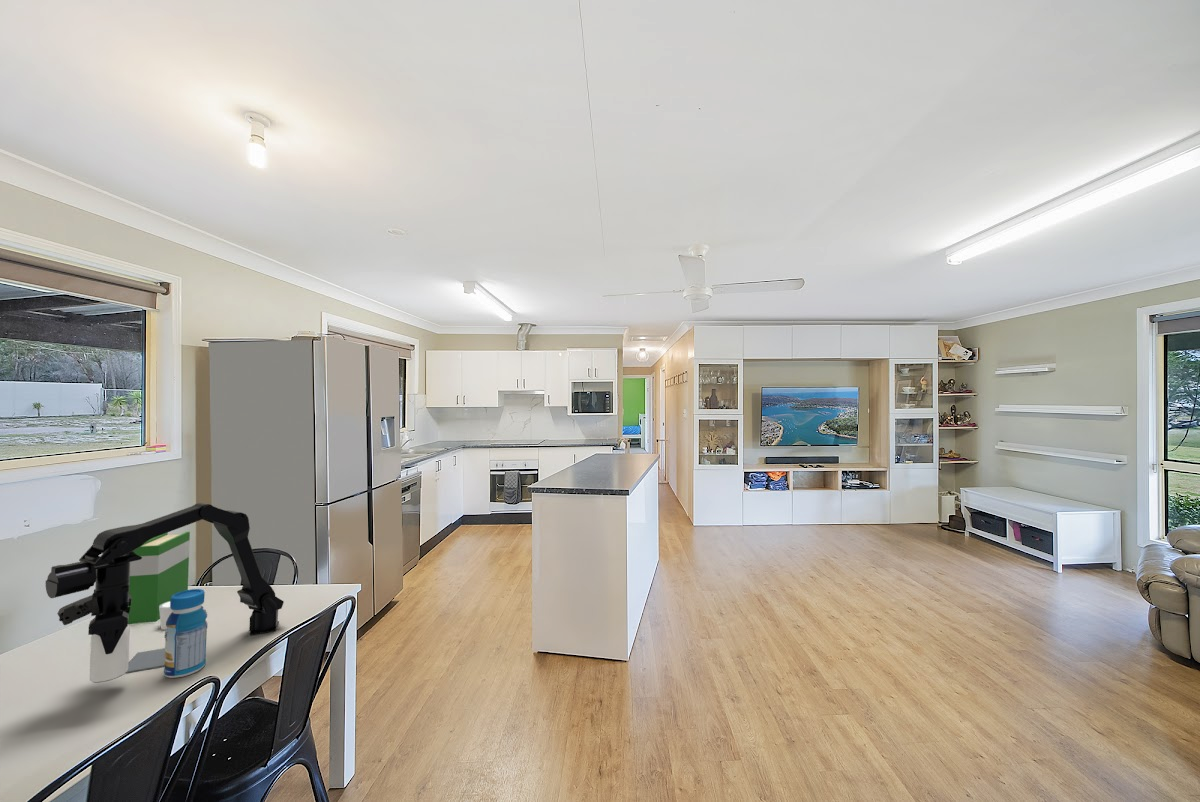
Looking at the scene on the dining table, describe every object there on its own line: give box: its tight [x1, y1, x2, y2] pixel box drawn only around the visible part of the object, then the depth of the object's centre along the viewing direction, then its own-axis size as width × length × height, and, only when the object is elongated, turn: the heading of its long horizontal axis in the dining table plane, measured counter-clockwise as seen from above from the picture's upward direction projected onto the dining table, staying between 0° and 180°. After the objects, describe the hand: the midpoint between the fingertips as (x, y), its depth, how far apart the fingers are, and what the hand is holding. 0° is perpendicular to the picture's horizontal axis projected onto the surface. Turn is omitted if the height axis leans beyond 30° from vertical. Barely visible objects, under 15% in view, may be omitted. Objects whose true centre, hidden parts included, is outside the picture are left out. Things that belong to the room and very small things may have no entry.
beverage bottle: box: [163, 588, 209, 679], centre depth 122 cm, size 8×8×20 cm
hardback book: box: [128, 531, 191, 625], centre depth 156 cm, size 18×7×24 cm, turn 17°
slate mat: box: [125, 647, 165, 674], centre depth 127 cm, size 11×11×1 cm
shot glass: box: [159, 601, 173, 631], centre depth 146 cm, size 7×7×7 cm
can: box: [89, 625, 131, 684], centre depth 112 cm, size 6×6×12 cm
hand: (110, 648), depth 112 cm, fingers closed on can, 6 cm apart
